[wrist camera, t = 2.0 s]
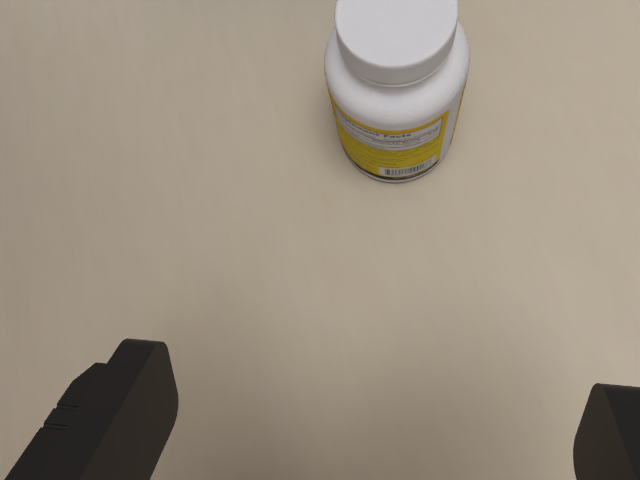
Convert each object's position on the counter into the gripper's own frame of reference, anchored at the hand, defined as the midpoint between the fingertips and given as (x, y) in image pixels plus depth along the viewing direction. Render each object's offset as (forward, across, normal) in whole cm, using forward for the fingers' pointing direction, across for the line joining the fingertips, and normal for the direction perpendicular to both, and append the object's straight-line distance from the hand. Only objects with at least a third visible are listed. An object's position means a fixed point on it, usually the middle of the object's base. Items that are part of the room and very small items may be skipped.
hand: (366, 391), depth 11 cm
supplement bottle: (+19, 0, +2) cm, 19 cm away
